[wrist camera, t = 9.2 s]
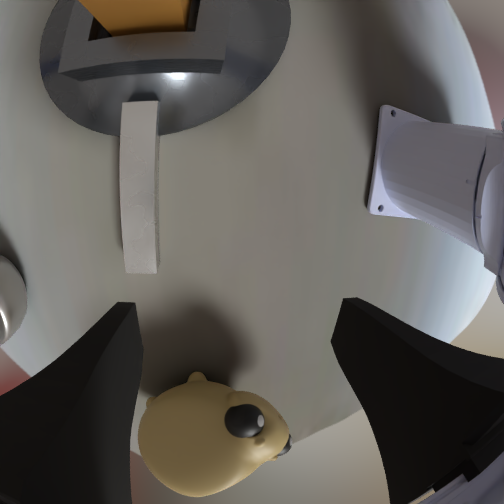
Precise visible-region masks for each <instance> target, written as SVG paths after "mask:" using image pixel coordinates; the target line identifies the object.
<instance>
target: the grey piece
mask: <svg viewBox="0 0 504 504" xmlns="http://www.w3.org/2000/svg"><path fill="white" fill-rule="evenodd" d="M290 24H291V12H290V5H289V0H192V3H191V9H190V15H189V21H188V27H187V32H158V33H143V34H133V35H124V36H116V37H113V36H112V35H111V34H110V33H109V32H108V31H107V30H106V29H105V28H104V27H103V26H102V25H101V24H100V22H99V21H98V20H97V19H96V18H95V17H94V16H93V15H92V14H91V13H90V12H89V11H88V10H87V9H86V8H85V7H84V6H83V5H82V4H81V3H80V2H79V1H78V0H59V1H58V2H57V4H56V5H55V7H54V9H53V10H52V12H51V15H50V17H49V19H48V21H47V23H46V26H45V29H44V32H43V36H42V41H41V46H40V69H41V75H42V79H43V82H44V85H45V88H46V90H47V92H48V94H49V96H50V98H51V99H52V100H53V102H54V103H55V104H56V106H57V107H58V108H59V109H60V110H61V111H62V112H63V113H64V114H65V115H66V116H67V117H69V118H70V119H72V120H73V121H75V122H76V123H78V124H79V125H82V126H84V127H86V128H88V129H91V130H93V131H97V132H100V133H104V134H107V135H114V136H120V209H121V226H122V239H123V250H124V260H125V269H126V273H157V272H158V268H159V265H160V250H159V221H158V172H159V143H160V136H161V135H166V134H171V133H176V132H180V131H183V130H186V129H190V128H193V127H196V126H198V125H201V124H203V123H205V122H208V121H210V120H212V119H214V118H216V117H218V116H220V115H221V114H223V113H225V112H227V111H228V110H230V109H231V108H233V107H234V106H236V105H237V104H239V103H240V102H241V101H243V100H244V99H245V98H246V97H247V96H248V95H250V94H251V93H252V92H253V91H254V90H255V89H256V88H258V86H259V85H260V84H261V83H262V82H263V81H264V80H265V79H266V78H267V77H268V75H269V74H270V73H271V71H272V70H273V68H274V67H275V65H276V64H277V63H278V61H279V59H280V57H281V55H282V53H283V51H284V49H285V45H286V42H287V39H288V36H289V30H290Z"/></svg>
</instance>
